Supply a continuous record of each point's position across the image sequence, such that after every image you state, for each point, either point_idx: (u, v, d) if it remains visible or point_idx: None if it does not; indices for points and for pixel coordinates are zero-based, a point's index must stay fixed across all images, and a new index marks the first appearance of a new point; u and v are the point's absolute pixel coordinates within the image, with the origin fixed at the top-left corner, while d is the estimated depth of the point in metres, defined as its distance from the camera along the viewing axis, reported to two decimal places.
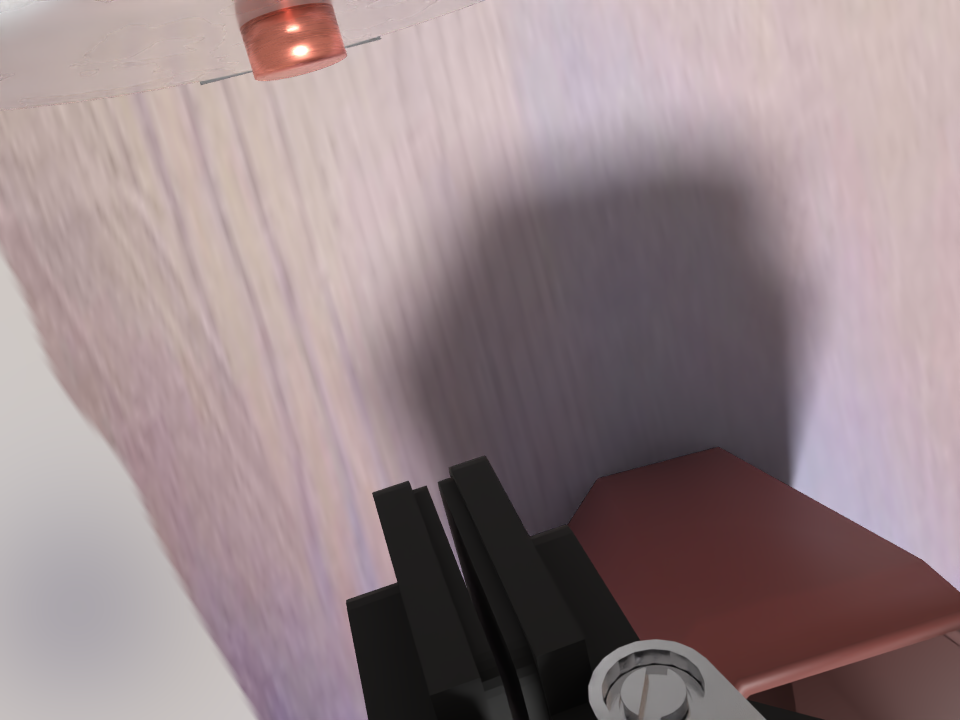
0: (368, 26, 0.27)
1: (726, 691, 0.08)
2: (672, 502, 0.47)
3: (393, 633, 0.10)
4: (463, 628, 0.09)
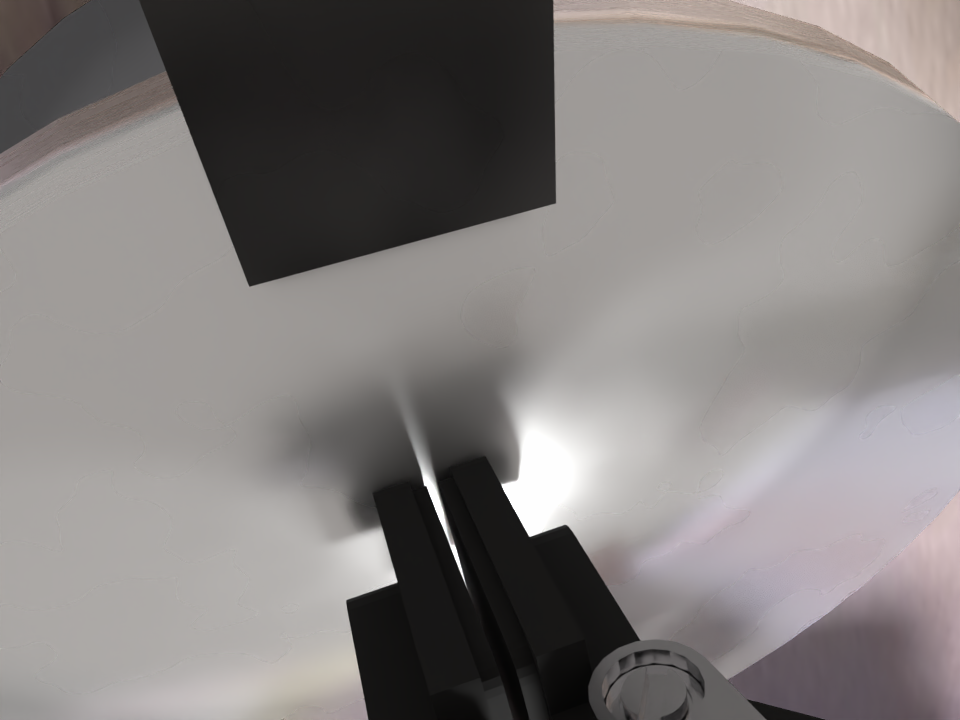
0: None
1: (726, 691, 0.08)
2: None
3: (393, 633, 0.10)
4: (463, 628, 0.09)
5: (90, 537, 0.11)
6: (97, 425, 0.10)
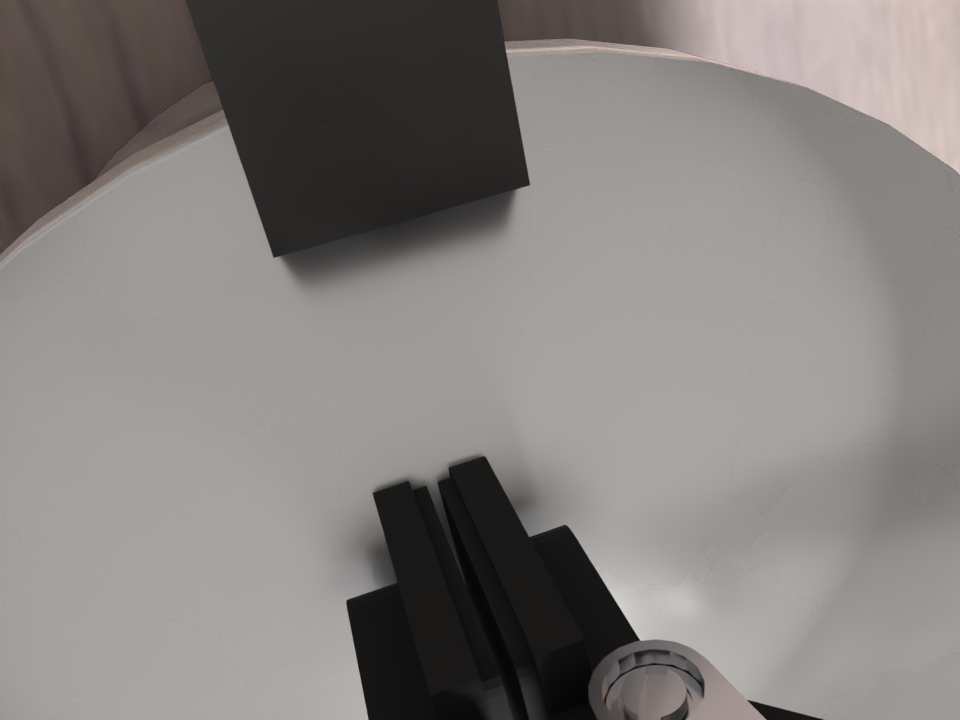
0: None
1: (726, 691, 0.08)
2: None
3: (394, 633, 0.10)
4: (463, 628, 0.09)
5: (140, 560, 0.12)
6: (150, 420, 0.11)
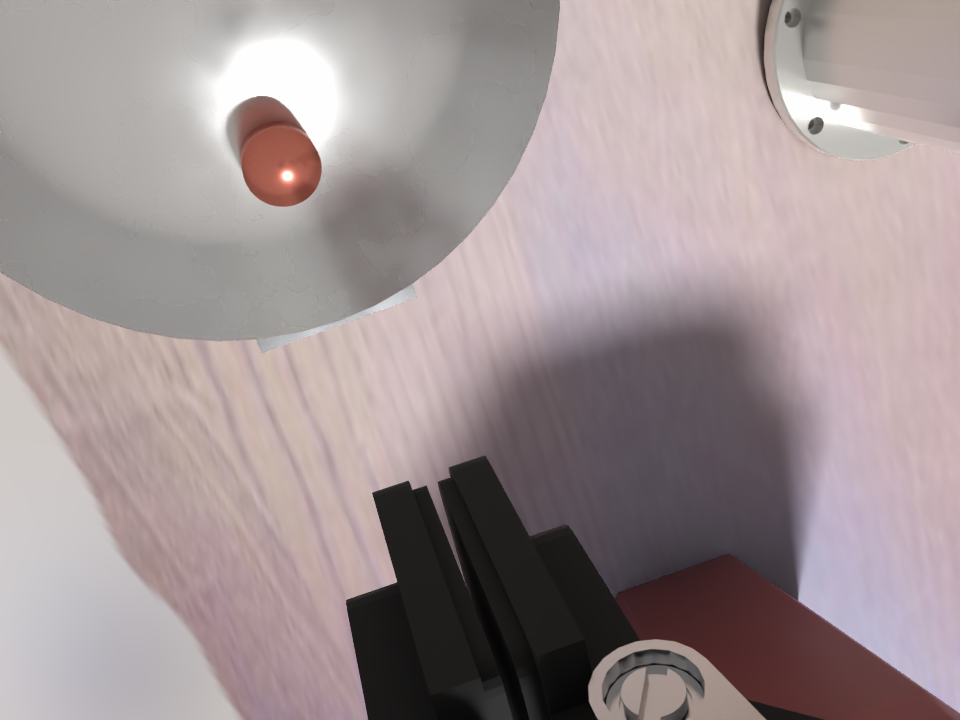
0: (381, 237, 0.31)
1: (726, 691, 0.08)
2: (690, 621, 0.51)
3: (393, 633, 0.10)
4: (463, 628, 0.09)
5: None
6: None
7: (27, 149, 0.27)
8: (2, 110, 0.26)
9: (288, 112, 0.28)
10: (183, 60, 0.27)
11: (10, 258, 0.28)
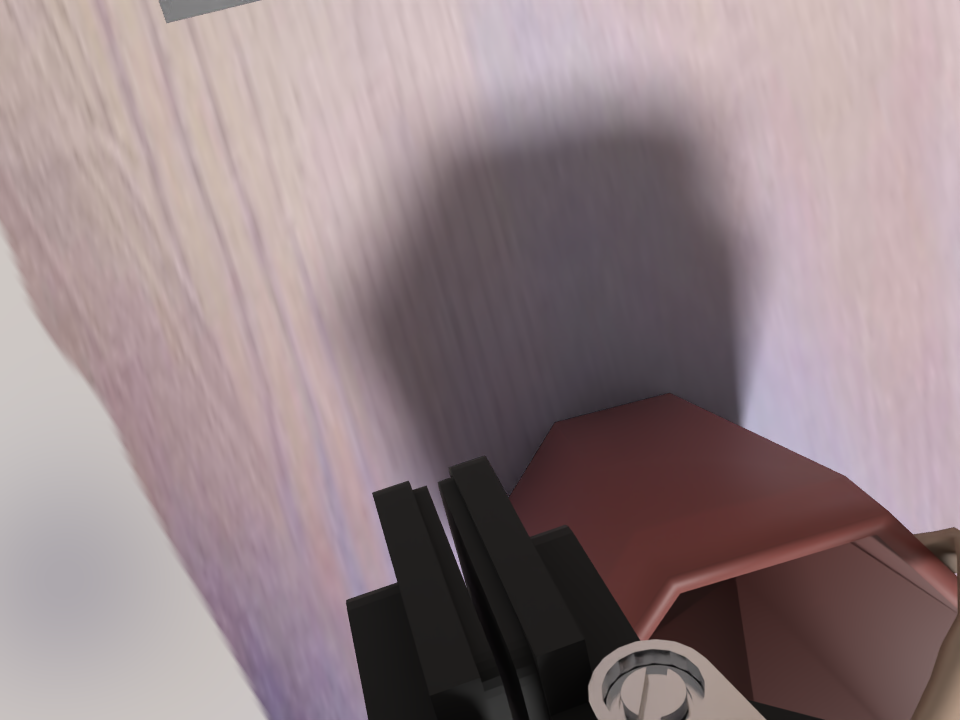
0: None
1: (726, 691, 0.08)
2: (622, 439, 0.50)
3: (393, 634, 0.10)
4: (463, 628, 0.09)
5: None
6: None
7: None
8: None
9: None
10: None
11: None
